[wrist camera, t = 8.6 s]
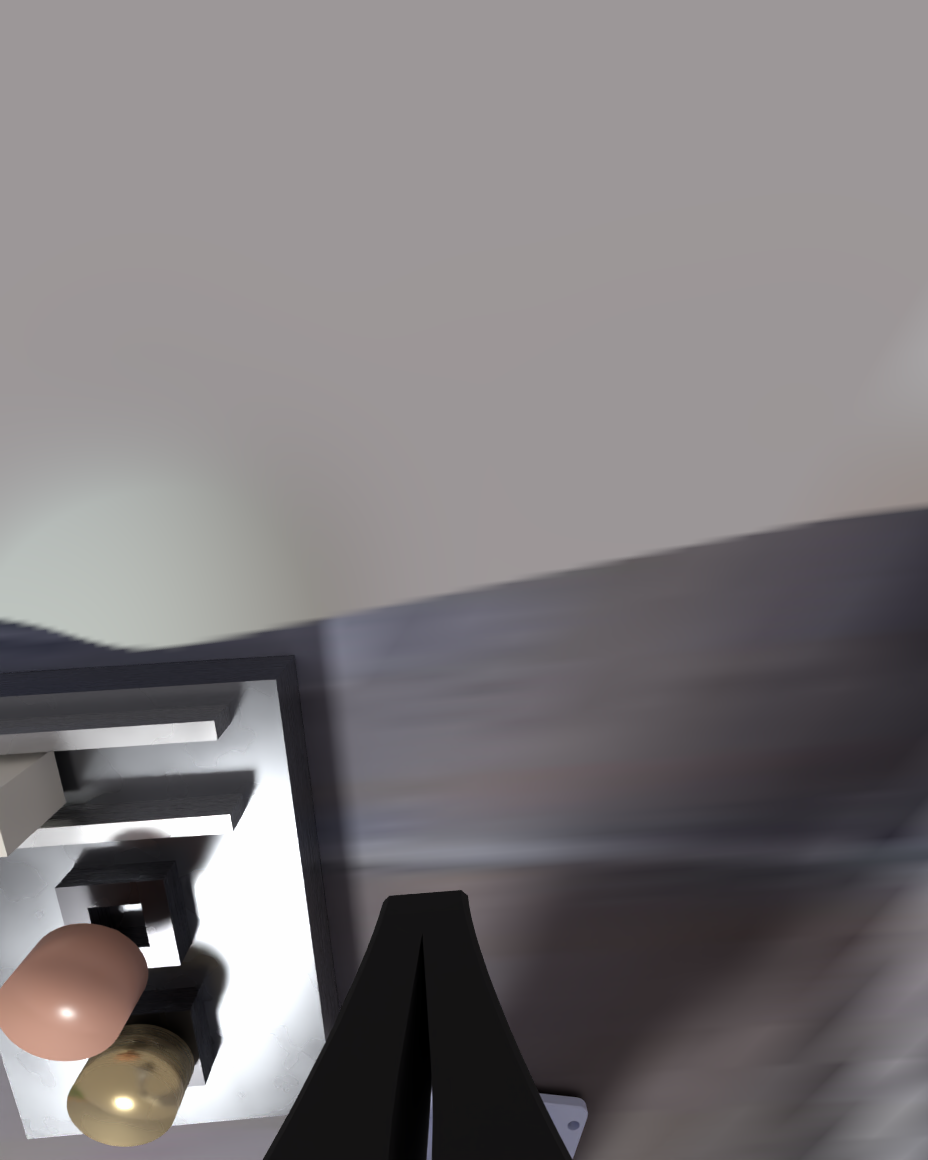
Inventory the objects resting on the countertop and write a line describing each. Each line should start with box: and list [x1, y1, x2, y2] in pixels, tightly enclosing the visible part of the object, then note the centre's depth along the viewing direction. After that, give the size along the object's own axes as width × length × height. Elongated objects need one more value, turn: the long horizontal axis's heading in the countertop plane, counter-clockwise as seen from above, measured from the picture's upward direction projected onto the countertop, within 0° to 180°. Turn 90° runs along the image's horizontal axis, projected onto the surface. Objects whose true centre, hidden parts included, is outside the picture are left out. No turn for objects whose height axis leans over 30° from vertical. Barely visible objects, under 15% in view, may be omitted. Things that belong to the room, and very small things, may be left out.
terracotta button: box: [0, 923, 148, 1061], centre depth 15 cm, size 3×3×2 cm
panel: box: [0, 655, 339, 1139], centre depth 18 cm, size 17×11×3 cm, turn 3°
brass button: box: [67, 1024, 194, 1147], centre depth 17 cm, size 3×3×2 cm
